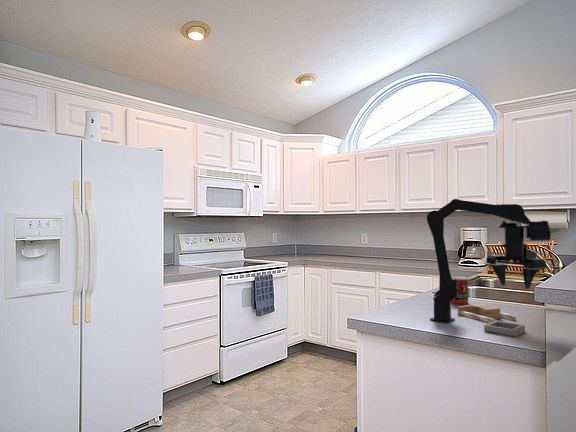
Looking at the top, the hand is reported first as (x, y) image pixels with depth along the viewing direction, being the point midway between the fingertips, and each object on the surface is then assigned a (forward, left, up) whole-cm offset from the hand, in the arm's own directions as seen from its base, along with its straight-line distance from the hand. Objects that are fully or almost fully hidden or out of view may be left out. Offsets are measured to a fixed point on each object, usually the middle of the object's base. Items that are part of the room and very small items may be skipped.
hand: (515, 286), depth 140 cm
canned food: (+23, +31, -13) cm, 41 cm away
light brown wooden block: (+5, +12, -13) cm, 19 cm away
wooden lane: (+4, +12, -13) cm, 18 cm away
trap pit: (-11, 0, -13) cm, 17 cm away
